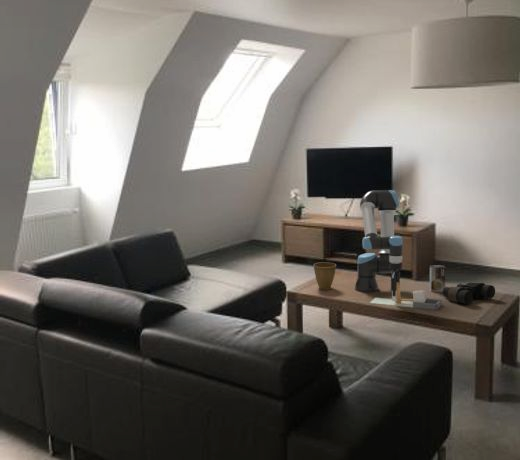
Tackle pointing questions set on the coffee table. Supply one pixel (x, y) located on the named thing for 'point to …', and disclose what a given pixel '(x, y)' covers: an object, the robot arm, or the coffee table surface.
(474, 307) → the coffee table surface
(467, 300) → the binoculars
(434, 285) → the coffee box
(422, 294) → the pull block
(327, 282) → the plant pot
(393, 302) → the lane rack
